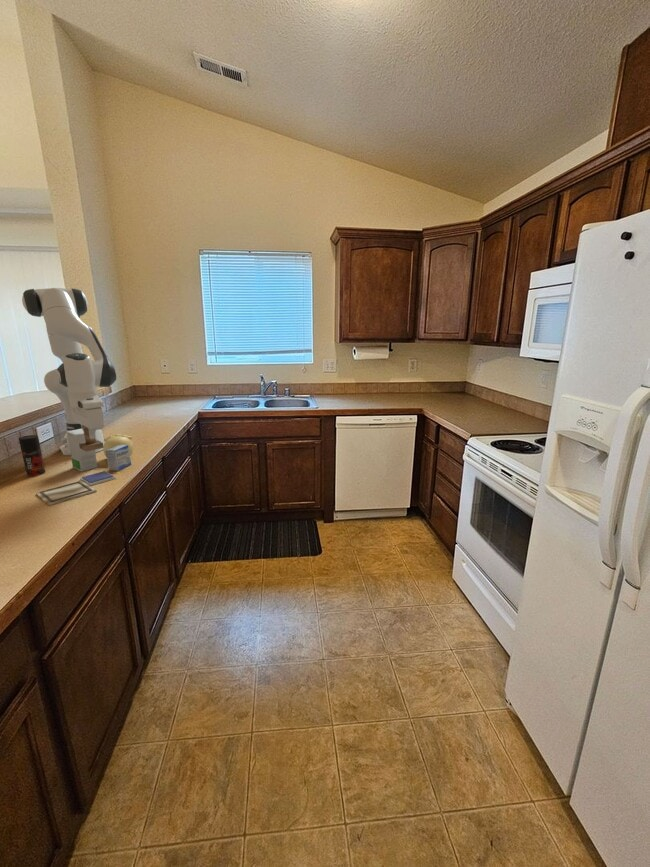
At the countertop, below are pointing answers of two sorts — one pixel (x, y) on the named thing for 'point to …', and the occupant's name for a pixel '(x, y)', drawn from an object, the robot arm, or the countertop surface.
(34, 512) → the countertop surface
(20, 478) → the countertop surface
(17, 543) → the countertop surface
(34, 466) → the deodorant
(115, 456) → the medicine box
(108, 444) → the sculpture
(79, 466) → the skincare box
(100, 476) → the ink pad
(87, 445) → the stamp
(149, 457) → the countertop surface
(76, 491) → the marked board
